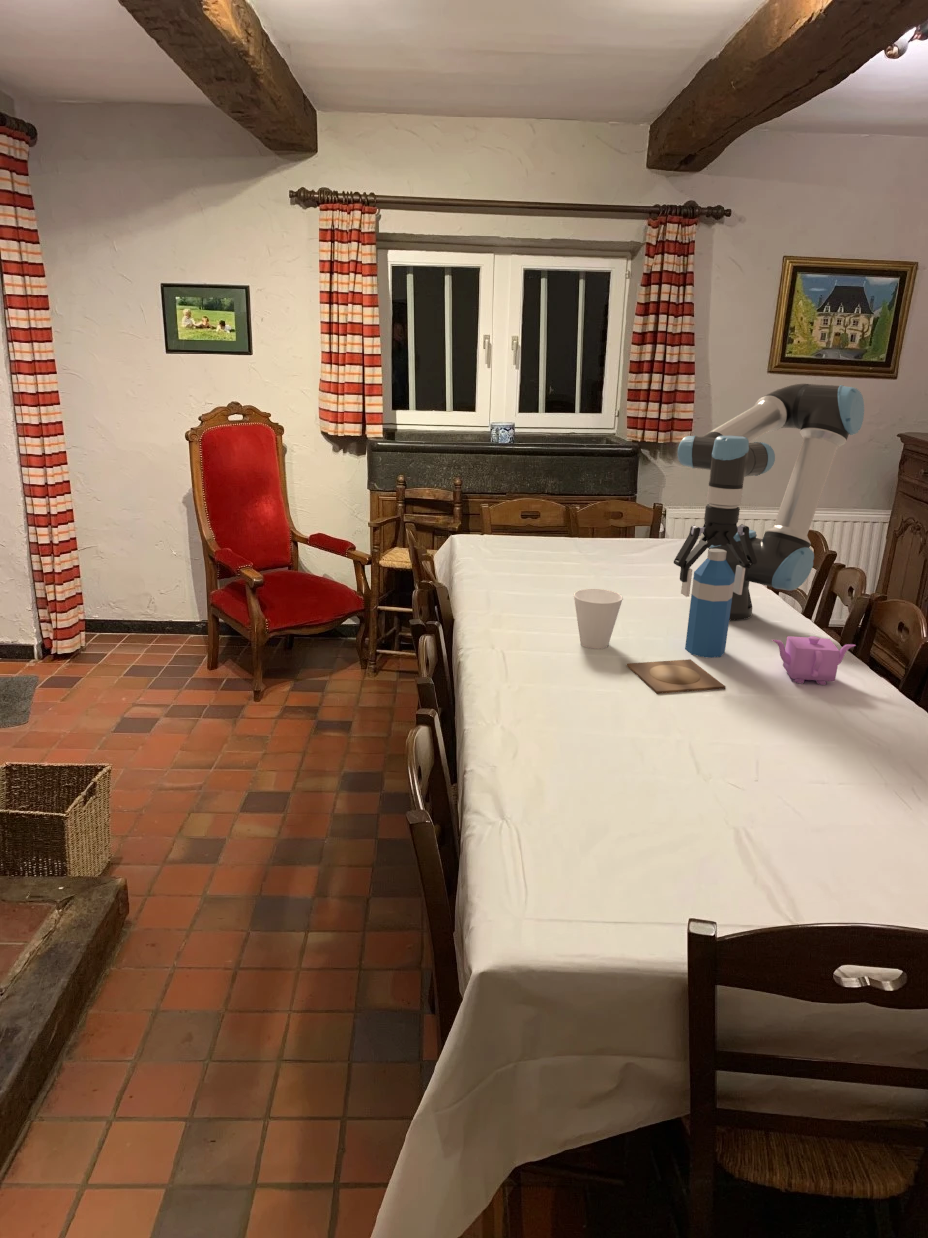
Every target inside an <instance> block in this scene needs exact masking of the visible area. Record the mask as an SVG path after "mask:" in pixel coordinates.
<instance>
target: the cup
mask: <svg viewBox="0 0 928 1238" xmlns="http://www.w3.org/2000/svg"><path fill="white" fill-rule="evenodd" d="M573 599H574V605H575V614H576V621H577V627H578V634H579V642H580V645H581V646H583V647H584V648H588V649H592V650H598V649H599V650H601V649H602V650H603V649H605V648H608V647H609V644H610V642H611V641H610V640H611V637H612V635H613V631H614V628H615V625H616V621H617V618H618V616H619V612H620V608H621V605H622V602H623V600H624V598H623V596H622V594H620V593H618V592H617V591H616V592H615V591H613V590H608V589H601V588H586V589H579V590H577V591H575V592H574V593H573Z"/></svg>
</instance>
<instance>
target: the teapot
mask: <svg viewBox="0 0 928 1238" xmlns="http://www.w3.org/2000/svg"><path fill="white" fill-rule="evenodd" d="M771 641H772V642H774V643H776V644H777V646H778V650H779V656H780V659H781V660H782V667H783V668H784V670H785V671H786V672H787V674H788V676H789V677H790V679H791V680H793V679H794V683H797V684H804V682H805V680H806V681H816V684H817V685H822V686H826V685H827V683H826V682H836V677H837V672H838V666H839V665H840V664H841V662H842V661H843V659H844V657H845V655H846V653H847V652H848V651H849V650H850V649H851V648H854V647H856V646H857V645H856V644H853V643H850V644H849V643H848V644H847V643H846V644H844V645H843V646H842V647H841V648H840V650H839V648H838V647H837V646H836V645H835V644H834V642H833V641H832V640H831V639H830V638H823V637H822V638H821V637H818V636H814V635H811V636H808V637H807V636H806V637H805V636H793V635H792V636H789V635H788V636H787V637H786V643H785V644H784V642H783V641H782V640H780V639H771Z"/></svg>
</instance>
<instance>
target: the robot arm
mask: <svg viewBox="0 0 928 1238" xmlns="http://www.w3.org/2000/svg"><path fill="white" fill-rule="evenodd" d="M864 401H865V400H864V397H863V394H862V392H861V390H859V389H858V388H857V387H853V386H845V385H841V384H840V385H832V384H831V385H829V384H813V383H795V384H791V385H788V386H787V385H786V386H784V387H782V388H779V389H776V390H773V391H771V392H769V393H767V394H765V395H764V396H761V397H760V398H759V399H757V400H756V401H755V403H754V405H753V406H752V407H750V408H749V409H746V410H745V411H743V412H742V413H740V414H738V415H736V416H735V417H733V418H731V419H729V420H728V421H726V422H725V423H723V424H721V425H719V426H717V427H715V428H714V429H712V430H710V431H709V432H707V433H706V434H704V435H702V436H698V435H686V436H684V437H683V438H682V439H681V440H680V442H679V445H678V447H677V459H678V462H679V464H680V465H682V466H684V467H686V468H687V467H689V468H692V469H697V470H698V469H701V470H707V471H710V472H709V481H708V487H707V488H708V489H707V496H706V502H707V505H705V510H704V517H703V518H704V523H703V526H696V525H693V524H692V525H690V528H689V534H688V535H687V537H686V539H685V540H684V542H683V544H682V546H681V547H680V550H679V551H678V552H677V554H676V556H675V558H674V560H673V564H674V565H676V566H678V567H680V572H679V581H680V582H681V591H680V594H681V595H683V596H685V597H686V598H687V597H690V595H691V594H690V592H691V587H692V586H691V585H692V579H693V578H692V576H693V569H692V568H691V567H692V566H693V565H694V563H696V561H697V560H698V559H699V558H700V557H701V556H702V555H703V553H705V551H706V550H707V549H708V550H709V549H722V550H725V551H727V553H726V561H727V563H728V564H729V566H730V567H731V569H732V571H733V572H734V574H735V580H734V588H733V595H732V603H731V610H730V618H729V621H742V620H748V619H749V618H751V617H752V616H753V604H752V599H751V592H750V589H749V588H750V587H749V586H750V583H754V584H759V585H763V586H767V587H771V588H773V589H775V590H785V591H794V590H797V589H798V588H800V587H801V586H802V585H803V584H804V583H805V582H806V580H807V579H808V577H809V576H810V574H811V571H812V569H813V567H814V563H815V562H814V560H815V553H814V551H813V550H812V549H811V548H810V547H811V545H812V543H811V541H810V539H809V537H808V534H809V531H810V529H811V525H812V522H813V519H814V517H815V514H816V511H817V508H818V506H819V503H820V499H821V496H822V494H823V490H824V488H825V485H826V482H827V479H828V476H829V473H830V470H831V468H832V464H833V462H834V459H835V456H836V454H837V451H838V448H841V446H843V445H846V443H847V440H848V439H849V435H850V436H854V435H856V434H858V433H859V431H860V430H861V428H862V426H863V422H864V419H865V418H864V416H865V402H864ZM781 429H796V430H797V429H798V430H799V435H800V437H802V443H801V445H800V448H799V452H798V454H797V457H796V460H795V462H794V466H793V469H792V471H791V474H790V477H789V481H788V483H787V486H786V489H785V492H784V495H783V498H782V501H781V504H780V506H779V509H778V512H777V515H776V518H775V520H774V525H773V526H772V527H770V528H768V529H766V530H765V532H764V533H763V534H764V535H763V537H762V538H758V537H757V536H758V535H757V532H756V530H754V529H750V527H749V526H747V525H744V524H742V523H741V524H740V525H739V526H738V522H739V519H740V518H739V517H740V511H741V509H740V507H739V506H740V505H742V497H743V488H744V481H745V478H746V477H751V476H755V477H757V476H758V477H759V476H761V475H763V474H766V473H768V472H769V471H770V470H771V469H772V468H773V466H774V464H775V463H776V462H775V461H776V454H775V451H774V449H773V447H772V446H771V444H768V443H766V442H762V441H761V442H760V441H759V442H758V441H755V440H757V439H758V438H760V437H761V436H763V435H764V434H766V433H768V432H776V431H778V430H781ZM753 441H754V442H753ZM702 535H703V536H702ZM700 536H702V537H701V538H700ZM699 538H700V539H699ZM697 542H698V543H697ZM696 543H697V544H696ZM695 544H696V545H695Z"/></svg>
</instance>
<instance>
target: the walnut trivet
mask: <svg viewBox="0 0 928 1238" xmlns="http://www.w3.org/2000/svg"><path fill="white" fill-rule="evenodd" d="M626 668H628V669H629V670H630V671H631V672H632V673H633V674H634V675H636V676H637V677H638V678H639V679H640V680H641V681H642V682H643V683H644V684H645V685H646V686H647V687H649V688H650V689H651V690H652V691H653V692H654V693H655V694H656V695H660V694H661V695H662V694H672V693H673V694H675V693H676V694H677V693H687V692H688V693H689V692H702V691H715V690H725V689H726V685H724V684H723V683H722V682H720V681H719V680H718V679H717V678H716V677H714V676H713V675H711V674H710V673H709V672H707V671H706V670H705V669H703V667H701V666H700V665H698V664H697V663H696V662H695V661H693V660H692V659H690V658H689V659H677V660H676V659H675V660H662V661H661V660H660V661H647V662H644V661H642V662H631V663H630V662H629V663H626Z"/></svg>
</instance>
